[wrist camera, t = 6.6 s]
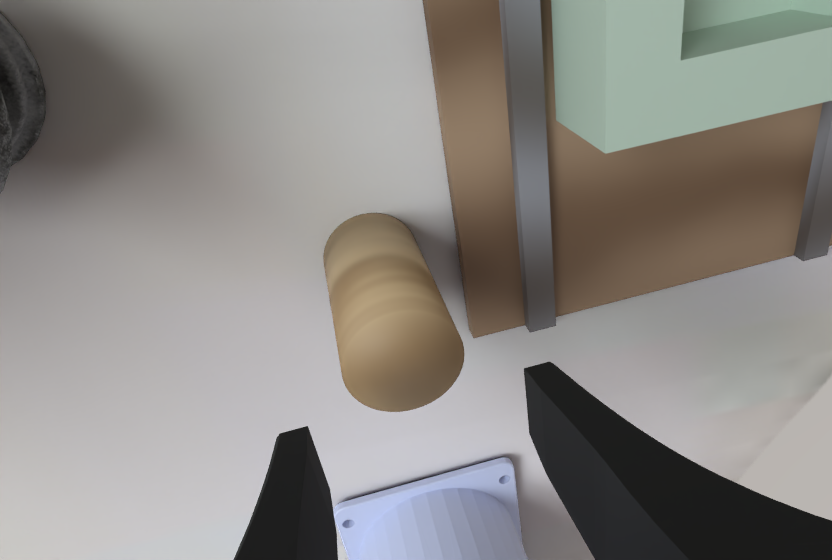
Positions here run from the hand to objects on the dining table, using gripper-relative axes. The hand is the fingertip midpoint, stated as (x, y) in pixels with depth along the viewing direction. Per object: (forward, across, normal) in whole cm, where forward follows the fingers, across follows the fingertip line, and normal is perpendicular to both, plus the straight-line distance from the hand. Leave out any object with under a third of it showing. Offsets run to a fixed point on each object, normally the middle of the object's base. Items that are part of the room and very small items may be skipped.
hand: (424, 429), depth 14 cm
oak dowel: (+8, 0, 0) cm, 8 cm away
